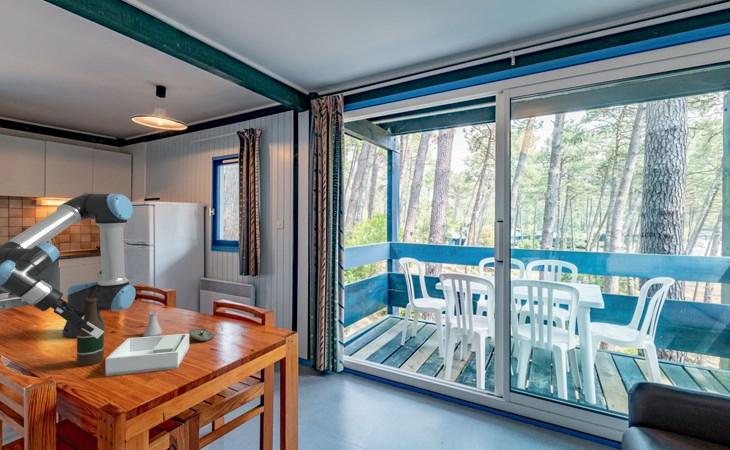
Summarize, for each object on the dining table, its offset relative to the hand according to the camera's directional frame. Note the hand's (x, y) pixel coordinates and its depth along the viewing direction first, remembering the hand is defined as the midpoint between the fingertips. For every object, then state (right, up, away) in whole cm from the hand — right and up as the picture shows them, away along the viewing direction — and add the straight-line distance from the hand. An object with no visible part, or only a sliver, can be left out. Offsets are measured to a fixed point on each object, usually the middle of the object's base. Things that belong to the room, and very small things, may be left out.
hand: (99, 330), depth 126 cm
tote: (+19, -12, +1) cm, 23 cm away
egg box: (+24, -11, +3) cm, 27 cm away
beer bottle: (-2, -12, -1) cm, 12 cm away
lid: (+27, -12, +24) cm, 38 cm away
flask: (+2, -11, +28) cm, 30 cm away
